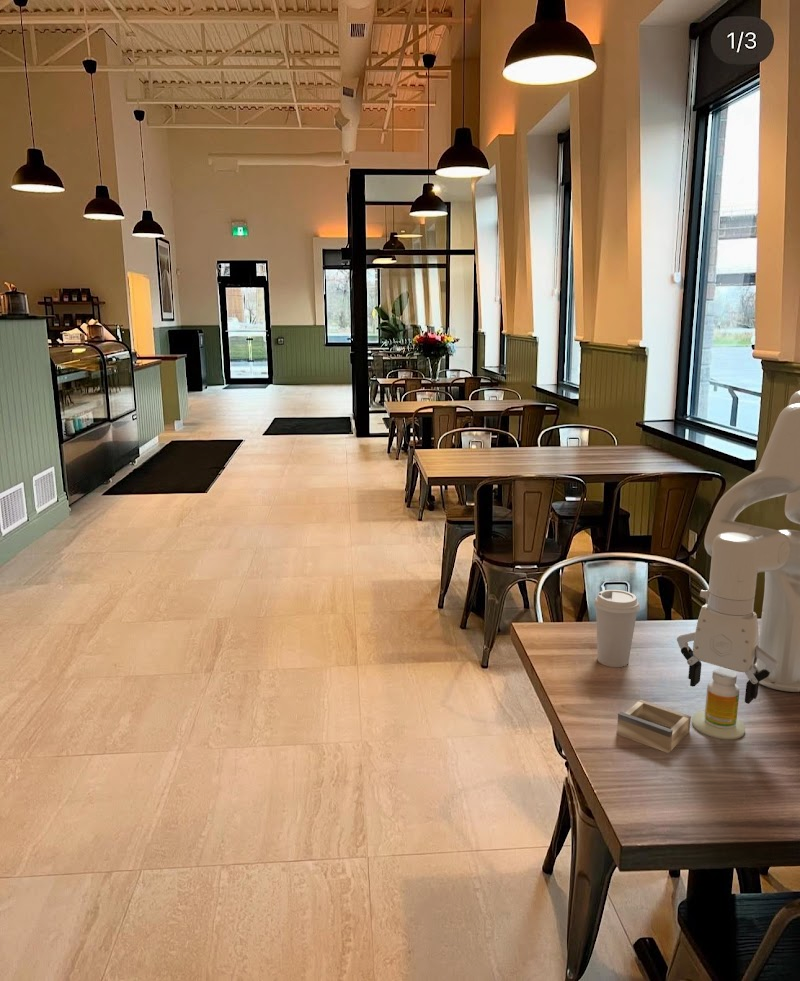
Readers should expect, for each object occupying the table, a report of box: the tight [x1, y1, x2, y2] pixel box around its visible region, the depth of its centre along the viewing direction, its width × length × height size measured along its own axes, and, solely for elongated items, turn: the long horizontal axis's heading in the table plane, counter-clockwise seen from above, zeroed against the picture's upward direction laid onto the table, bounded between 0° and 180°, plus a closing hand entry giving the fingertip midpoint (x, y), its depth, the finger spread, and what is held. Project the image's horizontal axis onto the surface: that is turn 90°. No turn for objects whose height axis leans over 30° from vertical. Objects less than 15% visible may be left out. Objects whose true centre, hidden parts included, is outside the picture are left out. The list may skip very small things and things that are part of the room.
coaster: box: [691, 709, 746, 740], centre depth 140 cm, size 9×9×1 cm
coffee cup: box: [593, 589, 641, 668], centre depth 165 cm, size 10×10×15 cm
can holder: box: [616, 699, 692, 754], centre depth 137 cm, size 10×10×4 cm
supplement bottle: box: [704, 668, 740, 729], centre depth 139 cm, size 5×5×10 cm
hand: (721, 692), depth 138 cm, fingers open, 9 cm apart
